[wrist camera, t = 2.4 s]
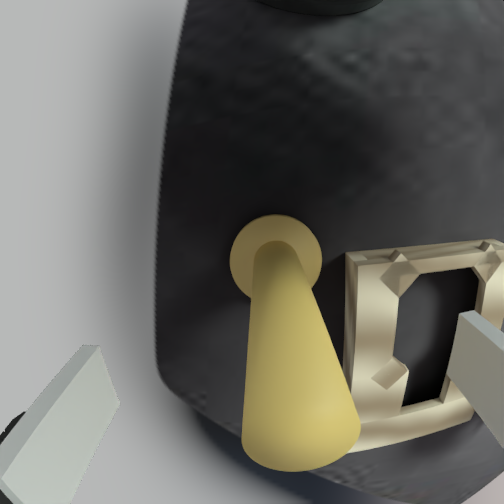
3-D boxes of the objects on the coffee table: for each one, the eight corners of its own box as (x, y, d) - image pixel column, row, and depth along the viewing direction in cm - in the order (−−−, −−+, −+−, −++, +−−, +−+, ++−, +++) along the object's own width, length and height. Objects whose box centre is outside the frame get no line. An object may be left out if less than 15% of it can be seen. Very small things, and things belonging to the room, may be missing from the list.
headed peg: (226, 218, 22) (149, 344, 6) (317, 210, 22) (439, 316, 6) (236, 302, 24) (203, 499, 8) (320, 295, 23) (395, 479, 8)
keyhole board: (345, 244, 22) (358, 257, 19) (492, 232, 22) (515, 241, 18) (337, 430, 27) (343, 453, 24) (458, 402, 26) (470, 419, 23)
